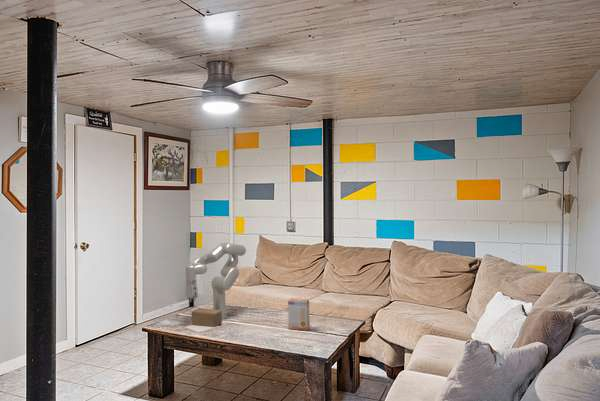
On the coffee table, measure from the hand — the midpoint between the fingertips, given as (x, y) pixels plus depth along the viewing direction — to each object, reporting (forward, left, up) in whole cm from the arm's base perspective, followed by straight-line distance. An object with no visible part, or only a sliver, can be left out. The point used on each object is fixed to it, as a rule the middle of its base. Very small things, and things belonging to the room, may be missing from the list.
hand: (191, 306), depth 322 cm
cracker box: (-45, +66, -13) cm, 81 cm away
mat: (-1, +12, -13) cm, 18 cm away
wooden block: (-3, 0, -8) cm, 8 cm away
